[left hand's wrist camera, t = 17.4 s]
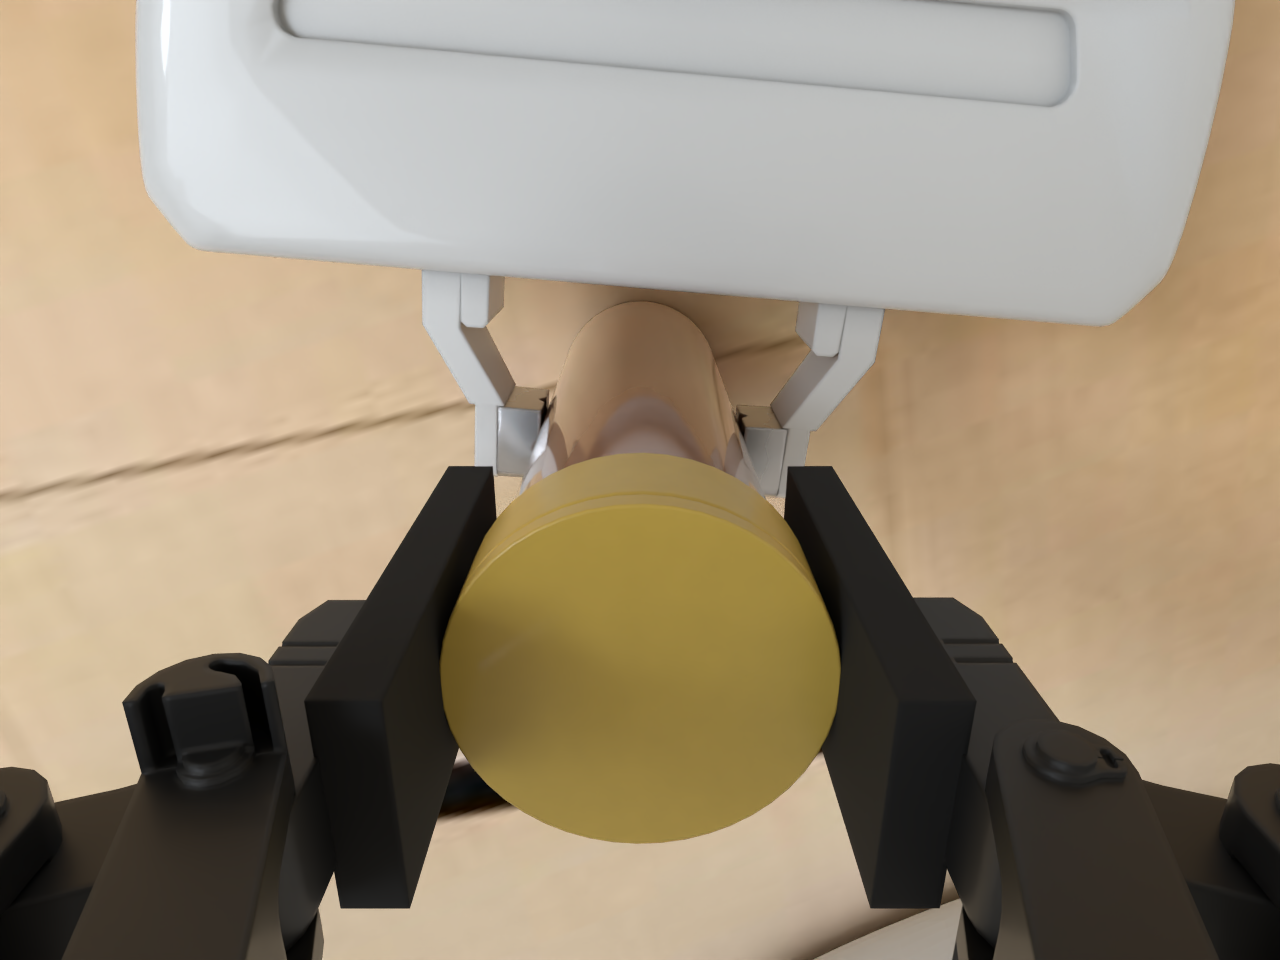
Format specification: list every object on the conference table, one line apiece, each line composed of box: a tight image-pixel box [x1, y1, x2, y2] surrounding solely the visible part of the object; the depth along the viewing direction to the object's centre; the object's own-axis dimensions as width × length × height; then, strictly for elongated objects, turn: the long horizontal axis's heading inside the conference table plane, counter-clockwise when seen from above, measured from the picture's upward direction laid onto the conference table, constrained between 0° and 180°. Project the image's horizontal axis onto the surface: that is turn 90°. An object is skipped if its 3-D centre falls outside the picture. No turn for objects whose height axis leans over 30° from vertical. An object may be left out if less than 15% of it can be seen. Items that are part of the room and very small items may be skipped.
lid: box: [439, 453, 841, 844], centre depth 11 cm, size 5×5×2 cm
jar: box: [515, 301, 766, 500], centre depth 18 cm, size 5×5×15 cm
